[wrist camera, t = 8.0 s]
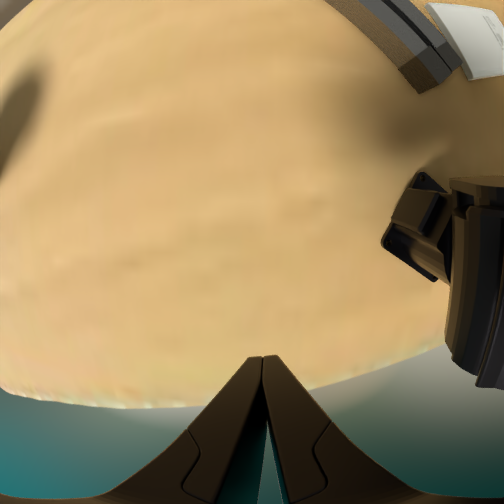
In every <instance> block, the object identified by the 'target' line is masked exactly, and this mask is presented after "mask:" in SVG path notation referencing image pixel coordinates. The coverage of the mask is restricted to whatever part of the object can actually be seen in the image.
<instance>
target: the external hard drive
mask: <svg viewBox="0 0 504 504" xmlns="http://www.w3.org/2000/svg"><path fill="white" fill-rule="evenodd" d="M424 7H425V8H426V10H427V11H428V12H429V14H430V15H431V17H432V18H433V19H434V21H435V22H436V24H437V25H438V27H439V28H440V30H441V32H442V33H443V35H444V36H445V38H446V40H447V41H448V43H449V44H450V45H451V47H452V48H453V49H454V50H455V52H456V53H457V54H458V56H459V57H460V58H461V60H462V61H463V63H462V64H461V67H462V69H463V71H464V73H465V75H466V77H467V79H468V81H470V80H476V79H482V78H488V77H495V76H503V75H504V27H503V25H502V24H501V22H500V20H499V19H498V17H497V16H496V14H495V13H494V12H493V11H492V10H488V9H483V8H477V7H471V6H463V5H455V4H445V3H426V4H425V5H424Z"/></svg>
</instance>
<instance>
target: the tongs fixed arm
mask: <svg viewBox="0 0 504 504" xmlns="http://www.w3.org/2000/svg"><path fill="white" fill-rule="evenodd" d="M381 1H382V2H384V3H385V4H386V5H387V6H388V7H389V8H390V9H391V10H393V11H394V12H395V13H396V14H397V15H398V16H399V17H400V18H401V19H402V20H403V21H404V22H405V23H406V24H407V25H408V26H409V27H410V28H411V29H412V30H413V31H414V32H415V33H416V34H417V35H418V36H419V37H420V38H421V40H422V41H423V42H424V43H425V44H426V45H427V46H428V47H429V46H431V47H432V48H433V49H434V51H435V52H436V53H437V54H438V55H439V57H440V58H441V59H442V60H443V62H444V63H445V64H446V65H447V67H448V68H449V69H450V71H451V72H452V71H454V70H455V69H456V68H457V67H459V66H460V65H461V64H462V63H463V61H462V60H461V58H460V57H459V56H458V54H457V53H456V52H455V50H454V49H453V48H452V47H451V45H450V44H449V43H448V42H447V40H446V39H445V38H444V37H443V36H442V34H441V33H440V32H439V31H438V30H437V29H436V28H435V26H434V25H433V24H432V23H431V22H430V21H429V20H428V19H427V18H426V17H425V16H424V15H423V14H422V13H421V12H420V11H419V10H418V9H417V8H416V7H415V6H414V5H413V4H412V3H411V2H410V1H409V0H381Z"/></svg>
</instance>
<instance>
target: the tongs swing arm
mask: <svg viewBox="0 0 504 504" xmlns="http://www.w3.org/2000/svg"><path fill="white" fill-rule="evenodd" d="M325 1H326V2H327V3H329V4H330V5H331V6H332V7H334V8H335V9H336V10H338V11H339V12H340V13H341V14H342V15H344V16H345V17H346V18H347V19H348V20H350V21H351V22H352V23H353V24H354V25H355V26H357V27H358V28H359V29H360V30H361V31H362V32H363V33H364V34H365V35H366V36H367V37H369V38H370V39H371V40H372V41H373V42H374V43H375V44H376V45H377V46H378V47H379V48H380V49H381V50H382V51H383V52H384V53H385V54H386V55H387V57H388V58H389V59H390V60H391V61H392V62H393V63H394V64H395V65H396V66H397V67H398V70H399V71H400V72H401V73H402V74H403V76H404V77H405V78H406V79H407V80H408V82H409V83H410V84H411V85H412V86H413V88H414V89H415V90H416V91H417V93H418V94H420V93H422V92H424V91H426V90H428V89H430V88H433V87H435V86H437V85H439V84H440V83H442V82H443V81H444V80H445V79H446V78H447V77H448V76H449V75H450V74H452V72H451V71H450V69H449V68H448V67H447V65H446V64H445V63H444V62H443V60H442V59H441V58H440V57H439V55H438V54H437V53H436V52H435V51H434V49H433V48H432V47H431V46H429V47H428V46H427V45H426V44H425V43H424V42H423V41H422V40H421V38H420V37H419V36H418V35H417V34H416V33H415V32H414V31H413V30H412V29H411V28H410V27H409V26H408V25H407V24H406V23H405V22H404V21H403V20H402V19H401V18H400V17H399V16H398V15H397V14H396V13H395V12H394V11H393V10H391V9H390V8H389V7H388V6H387V5H386V4H385V3H384V2H382V1H381V0H325Z"/></svg>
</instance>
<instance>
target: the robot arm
mask: <svg viewBox="0 0 504 504" xmlns="http://www.w3.org/2000/svg"><path fill="white" fill-rule="evenodd" d="M421 175H422V177H423V179H422V181H421V180H420V176H421ZM449 181H450V188H451V189H452V194H448V193H447V192H446V191H445V190H444V189H443V188H442V187H441V186H440V185H439V184H438V183H436V182H435V181H434V180H433V179H432V178H431V177H430V176H429V175H427V174H426V173H425V172H417V173H416V174H415V176H414V178H413V180H412V182H411V184H410V186H409V188H408V189H406V190H405V192H404V194H403V196H402V198H401V200H400V202H399V203H398V205H397V207H396V209H395V211H394V213H393V215H392V217H391V223H390V225H389V226H388V228H387V230H386V232H385V234H384V235H383V237H382V239H381V246H382V247H383V248H384V249H386V250H387V251H389V252H390V253H392V254H393V255H395V256H396V257H398V258H399V259H400V260H402V261H403V262H405V263H406V264H408V265H409V266H411V267H412V268H413V269H415V270H416V271H418V272H419V273H420V274H422V275H423V276H425V277H426V278H427V279H429V280H430V281H432V282H436V281H437V280H438V279H440V280H442V281H443V282H445V283H446V284H448V285H449V286H450V294H449V303H448V311H447V318H446V325H445V342H446V344H447V346H448V348H449V349H450V352H451V353H452V357H451V359H452V361H453V362H455V363H456V364H457V365H458V366H459V367H460V368H462V369H463V370H465V371H467V372H469V373H470V374H472V375H475V376H478V377H477V380H476V383H475V386H476V387H481V388H497V389H501V390H504V176H480V177H463V178H450V179H449ZM387 240H389V241H390V242H389V244H388V245H386V241H387ZM433 275H434V277H432V276H433ZM267 421H268V428H269V434H270V439H271V445H272V450H273V456H274V461H275V466H276V471H277V476H278V481H279V486H280V491H281V497H282V502H283V504H504V497H503V498H471V497H457V496H445V495H438V494H431V493H426V492H423V491H420V490H417V489H415V488H413V487H411V486H409V485H407V484H406V483H404V482H403V481H401V480H400V479H399V478H397V477H396V476H394V475H393V474H392V473H390V472H389V471H387V470H386V469H385V468H384V467H382V466H381V465H380V464H378V463H377V462H376V461H374V460H373V459H372V458H371V457H369V456H368V455H367V454H365V453H364V452H363V451H362V450H361V449H359V447H357V446H356V445H355V444H354V443H353V442H352V441H351V440H350V439H349V438H348V437H347V436H346V435H345V434H344V433H343V432H342V431H341V430H340V429H339V427H338V426H337V425H336V424H335V423H334V422H332V420H331V419H330V417H329V416H328V415H327V414H326V413H325V412H324V410H323V409H322V408H321V407H320V406H319V405H318V403H317V402H316V401H315V400H314V399H313V397H312V396H311V395H310V394H309V393H308V392H307V390H306V389H305V388H304V387H303V386H302V384H301V383H300V382H299V381H298V380H297V378H296V377H295V376H294V375H293V373H292V372H291V371H290V370H289V369H288V367H287V366H286V365H285V364H284V362H283V361H282V360H281V359H280V357H279V356H278V355H269V356H264V357H261V356H257V357H249V358H247V360H246V361H245V362H244V363H243V364H242V366H241V367H240V368H239V369H238V370H237V372H236V373H235V374H234V375H233V376H232V377H231V379H230V380H229V381H228V382H227V383H226V384H225V386H224V387H223V388H222V389H221V390H220V391H219V393H218V394H217V395H216V396H215V397H214V398H213V399H212V401H211V402H210V403H209V404H208V405H207V406H206V407H205V408H204V410H203V411H202V412H201V413H200V414H199V415H198V416H197V417H196V418H195V420H194V421H193V422H192V423H191V424H190V425H189V426H188V427H187V429H185V430H184V431H183V432H182V433H181V434H180V435H179V437H177V438H176V439H175V440H174V441H173V442H172V443H171V444H170V445H169V446H168V447H167V448H166V449H165V450H164V451H163V452H162V453H160V454H159V455H158V456H157V457H156V458H154V459H153V460H152V461H151V462H150V463H148V464H147V465H146V466H144V467H143V468H142V469H140V470H139V471H137V472H136V473H135V474H133V475H132V476H130V477H129V478H128V479H126V480H125V481H123V482H122V483H120V484H119V485H118V486H116V487H115V488H113V489H111V490H109V491H107V492H105V493H103V494H100V495H97V496H93V497H86V498H70V499H33V498H19V497H12V496H8V495H4V494H1V493H0V504H257V503H258V496H259V489H260V482H261V474H262V467H263V460H264V452H265V444H266V436H267Z"/></svg>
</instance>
